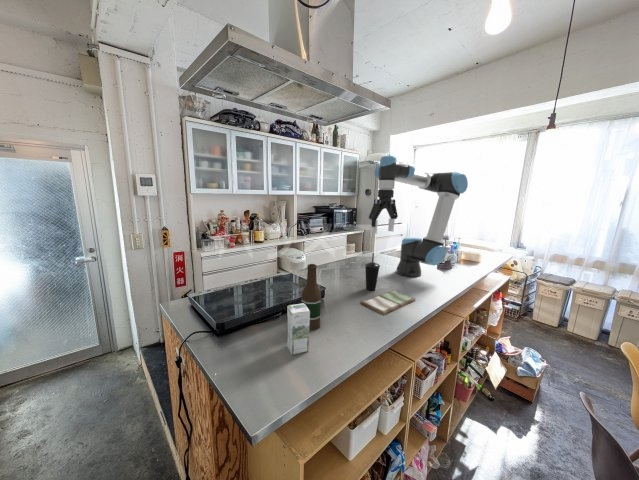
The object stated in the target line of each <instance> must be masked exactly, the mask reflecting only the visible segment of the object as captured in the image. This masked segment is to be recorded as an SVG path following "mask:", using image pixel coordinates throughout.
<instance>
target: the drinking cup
mask: <svg viewBox="0 0 639 480" xmlns="http://www.w3.org/2000/svg"><path fill="white" fill-rule="evenodd" d="M371 257H372V259H371V262H366V263H365V264H364V266H365V268H364V269H365V290H366V291H367V292H371V293H372V292H375V291H376V288H377V282H378V277H379V270H380V267H381V265H380V264H379V263H377V262H374V257H375V252H372V255H371Z"/></svg>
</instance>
